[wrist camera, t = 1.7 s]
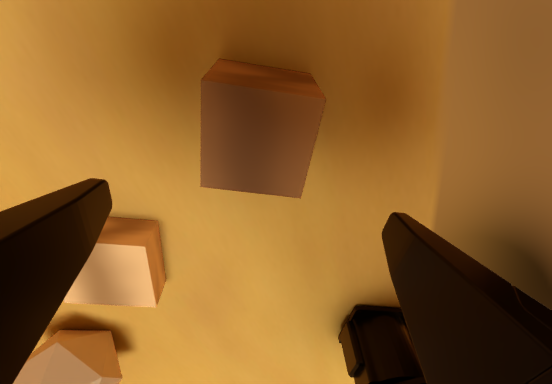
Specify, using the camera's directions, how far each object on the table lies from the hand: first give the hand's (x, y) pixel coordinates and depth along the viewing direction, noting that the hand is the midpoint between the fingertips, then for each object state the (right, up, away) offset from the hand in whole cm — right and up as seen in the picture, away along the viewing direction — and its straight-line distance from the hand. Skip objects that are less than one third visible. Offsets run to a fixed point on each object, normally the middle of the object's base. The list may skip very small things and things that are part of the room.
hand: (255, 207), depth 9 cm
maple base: (-12, -4, +14) cm, 19 cm away
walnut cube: (0, +5, +8) cm, 9 cm away
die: (-19, -15, +21) cm, 32 cm away
